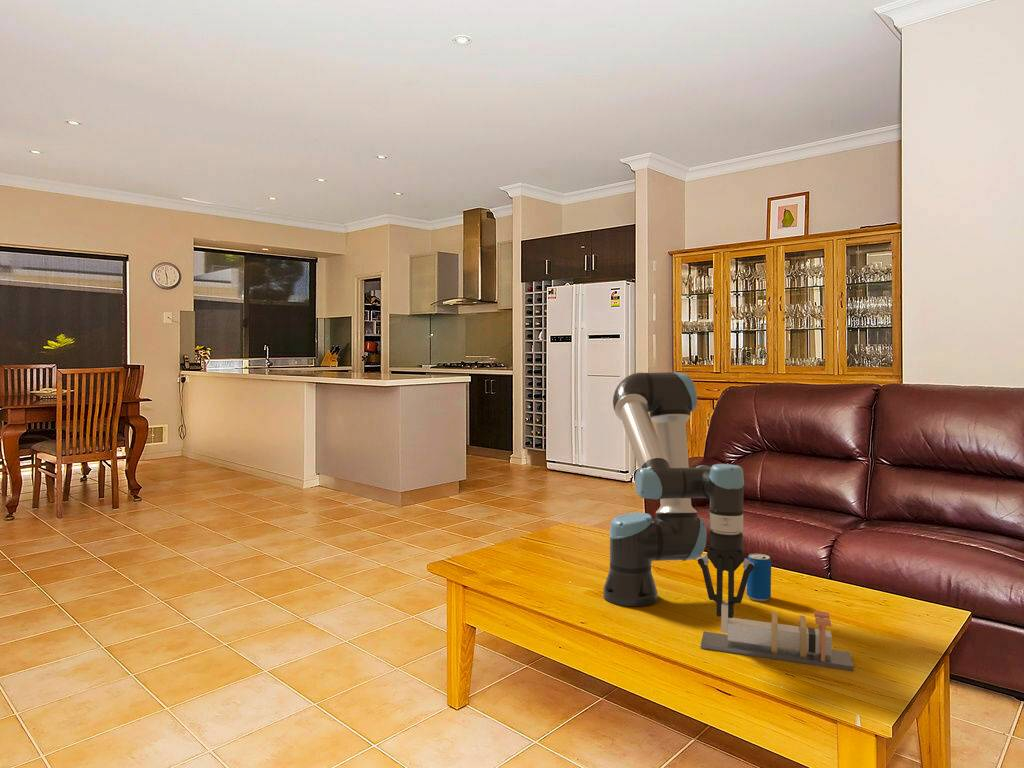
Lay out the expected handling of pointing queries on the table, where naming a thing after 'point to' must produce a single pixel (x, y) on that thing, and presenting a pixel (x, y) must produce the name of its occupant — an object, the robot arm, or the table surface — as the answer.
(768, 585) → the beverage can
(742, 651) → the rail
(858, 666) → the table surface
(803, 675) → the table surface
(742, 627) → the pale grey bar
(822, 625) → the aperture gantry
